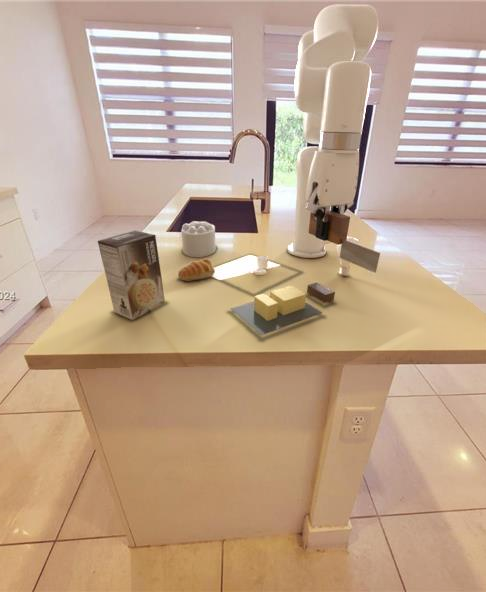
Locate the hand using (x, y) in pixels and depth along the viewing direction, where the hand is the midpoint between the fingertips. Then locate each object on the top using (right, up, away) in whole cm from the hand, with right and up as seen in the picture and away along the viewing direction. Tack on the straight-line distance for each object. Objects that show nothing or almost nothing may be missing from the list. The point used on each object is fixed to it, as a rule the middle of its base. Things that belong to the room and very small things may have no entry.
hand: (326, 237), depth 68 cm
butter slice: (-13, -17, -2) cm, 21 cm away
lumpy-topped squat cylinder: (-34, +2, +35) cm, 49 cm away
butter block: (-8, -15, +1) cm, 17 cm away
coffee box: (-41, -16, +1) cm, 44 cm away
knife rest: (0, -14, +7) cm, 15 cm away
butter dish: (-11, -17, 0) cm, 20 cm away
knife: (+2, -5, -2) cm, 6 cm away
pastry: (-31, -7, +17) cm, 36 cm away
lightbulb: (+9, -7, +20) cm, 23 cm away
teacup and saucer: (-16, -6, +20) cm, 27 cm away
